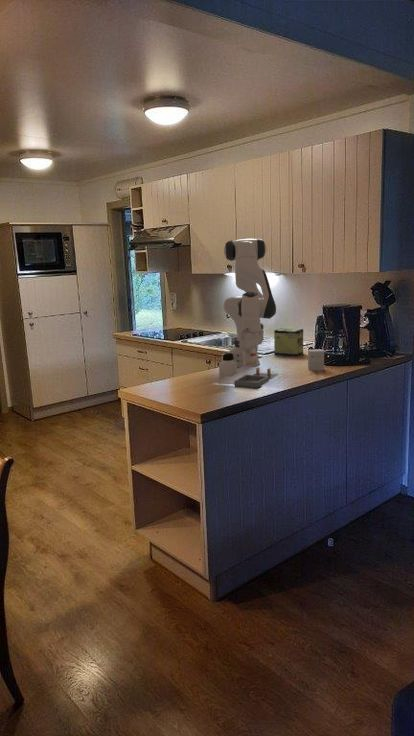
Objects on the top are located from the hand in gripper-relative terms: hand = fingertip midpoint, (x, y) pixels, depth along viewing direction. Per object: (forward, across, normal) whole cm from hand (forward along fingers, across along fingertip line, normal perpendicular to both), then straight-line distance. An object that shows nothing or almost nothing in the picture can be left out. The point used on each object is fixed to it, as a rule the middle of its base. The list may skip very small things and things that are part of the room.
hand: (251, 356), depth 250 cm
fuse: (+4, 0, 0) cm, 4 cm away
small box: (+14, +43, -19) cm, 49 cm away
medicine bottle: (+14, +13, +19) cm, 27 cm away
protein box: (+14, +80, +9) cm, 82 cm away
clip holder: (+14, +15, 0) cm, 21 cm away
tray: (+14, 0, 0) cm, 14 cm away
